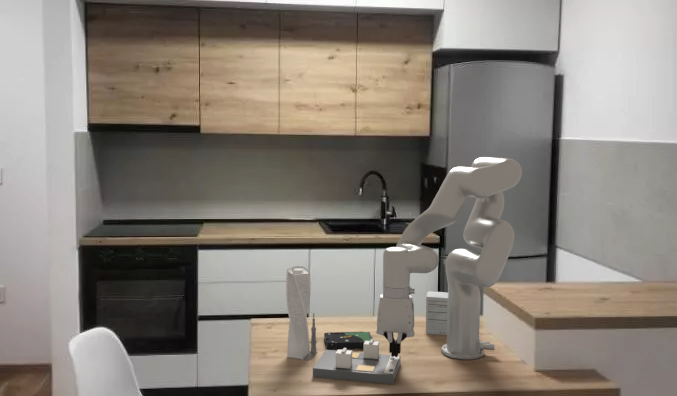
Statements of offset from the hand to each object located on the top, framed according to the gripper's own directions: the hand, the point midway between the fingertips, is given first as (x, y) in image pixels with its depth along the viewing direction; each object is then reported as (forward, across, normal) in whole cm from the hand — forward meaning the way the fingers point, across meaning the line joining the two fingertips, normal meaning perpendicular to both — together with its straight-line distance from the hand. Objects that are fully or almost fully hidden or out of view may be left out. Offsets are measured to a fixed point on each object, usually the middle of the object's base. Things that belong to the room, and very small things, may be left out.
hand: (394, 355), depth 184 cm
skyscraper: (+4, +29, -3) cm, 29 cm away
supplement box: (+4, -9, -36) cm, 37 cm away
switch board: (+4, +10, +4) cm, 11 cm away
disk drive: (+4, +17, -17) cm, 24 cm away
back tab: (+1, +7, 0) cm, 7 cm away
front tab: (+1, +13, +9) cm, 16 cm away
